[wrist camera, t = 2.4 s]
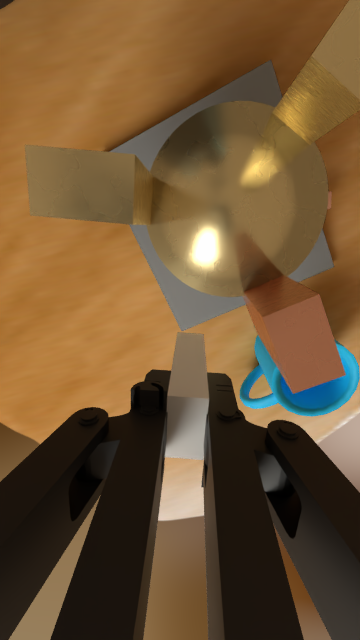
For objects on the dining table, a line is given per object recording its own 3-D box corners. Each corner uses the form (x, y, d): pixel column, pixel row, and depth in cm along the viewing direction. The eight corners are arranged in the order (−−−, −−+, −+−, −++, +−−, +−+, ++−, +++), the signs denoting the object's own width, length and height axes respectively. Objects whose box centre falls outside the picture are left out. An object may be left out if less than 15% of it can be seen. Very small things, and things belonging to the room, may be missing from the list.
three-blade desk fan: (75, 186, 22) (-2, 160, 13) (334, 41, 18) (457, -120, 10) (172, 370, 26) (161, 440, 18) (393, 281, 23) (513, 315, 14)
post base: (100, 161, 29) (62, 134, 21) (285, 56, 26) (330, -27, 17) (182, 327, 35) (178, 361, 26) (344, 258, 31) (401, 271, 23)
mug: (297, 300, 33) (329, 323, 25) (335, 350, 35) (376, 385, 27) (216, 359, 36) (222, 396, 28) (255, 403, 38) (270, 449, 30)
